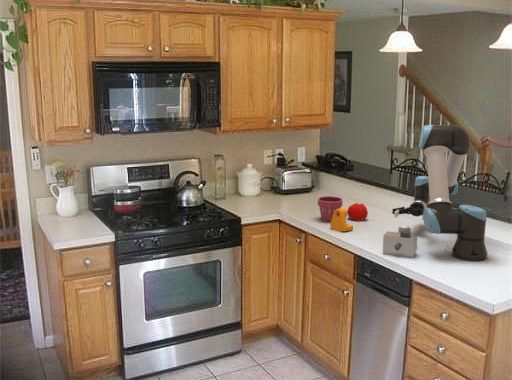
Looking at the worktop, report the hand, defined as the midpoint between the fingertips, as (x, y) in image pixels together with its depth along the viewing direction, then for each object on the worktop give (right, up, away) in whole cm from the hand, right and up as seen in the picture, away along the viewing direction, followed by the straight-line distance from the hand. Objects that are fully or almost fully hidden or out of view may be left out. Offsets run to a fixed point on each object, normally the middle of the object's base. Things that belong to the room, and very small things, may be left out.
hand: (409, 216), depth 263 cm
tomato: (-17, -4, +46) cm, 49 cm away
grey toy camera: (-7, -16, -10) cm, 20 cm away
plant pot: (-33, -5, +45) cm, 56 cm away
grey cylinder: (-4, -15, -6) cm, 17 cm away
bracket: (-29, -9, +26) cm, 40 cm away
